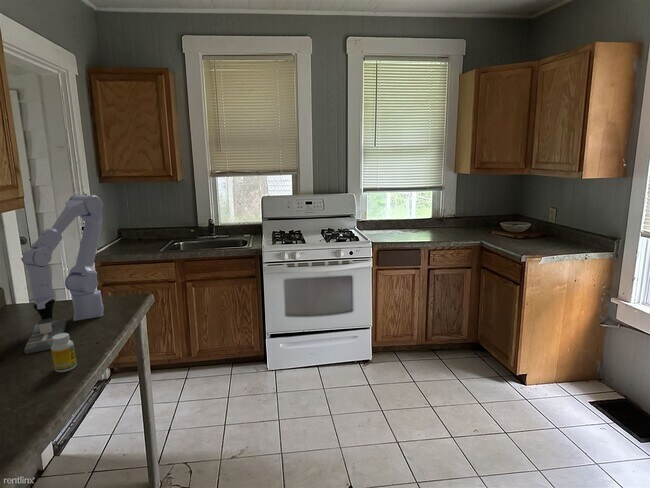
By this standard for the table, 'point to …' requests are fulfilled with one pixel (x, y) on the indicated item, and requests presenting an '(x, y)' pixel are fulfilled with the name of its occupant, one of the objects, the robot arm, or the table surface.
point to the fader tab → (45, 326)
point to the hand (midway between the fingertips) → (48, 322)
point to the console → (44, 337)
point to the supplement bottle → (63, 353)
